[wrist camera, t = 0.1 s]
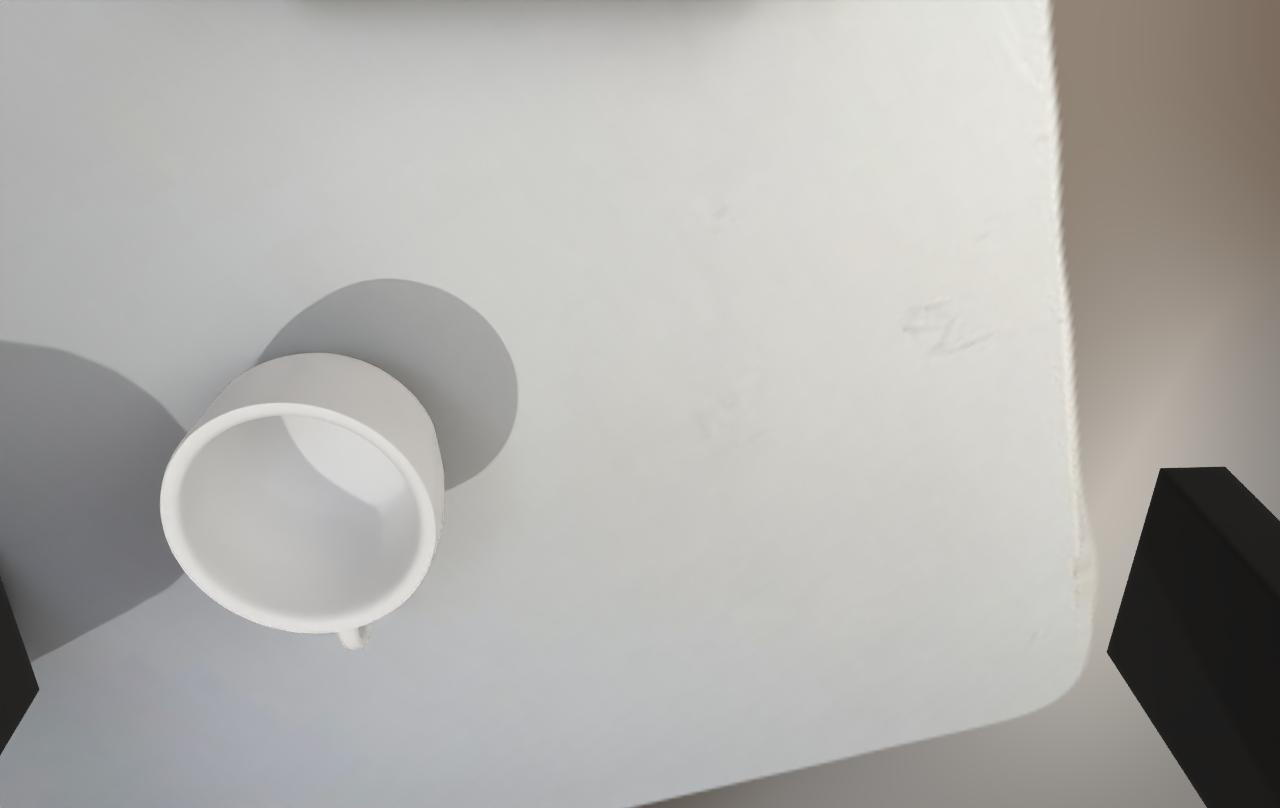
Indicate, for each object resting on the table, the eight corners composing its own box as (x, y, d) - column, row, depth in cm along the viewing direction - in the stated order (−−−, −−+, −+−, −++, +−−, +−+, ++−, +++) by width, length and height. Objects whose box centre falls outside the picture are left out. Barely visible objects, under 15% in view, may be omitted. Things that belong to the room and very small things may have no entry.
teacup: (179, 333, 33) (115, 421, 28) (429, 303, 33) (407, 386, 28) (268, 590, 38) (226, 701, 33) (486, 563, 38) (475, 671, 33)
